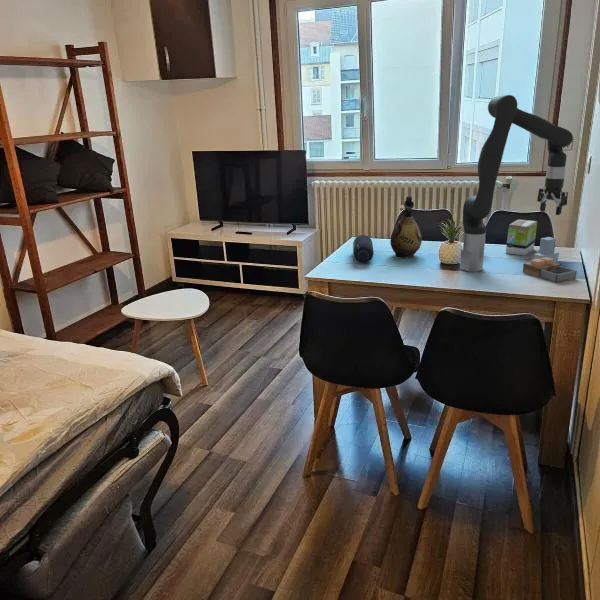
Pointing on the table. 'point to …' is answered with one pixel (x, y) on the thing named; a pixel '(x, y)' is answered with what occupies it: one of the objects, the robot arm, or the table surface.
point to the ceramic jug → (406, 233)
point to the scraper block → (547, 249)
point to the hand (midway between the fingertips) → (550, 213)
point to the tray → (558, 274)
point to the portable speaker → (363, 249)
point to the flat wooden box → (539, 268)
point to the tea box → (521, 237)
